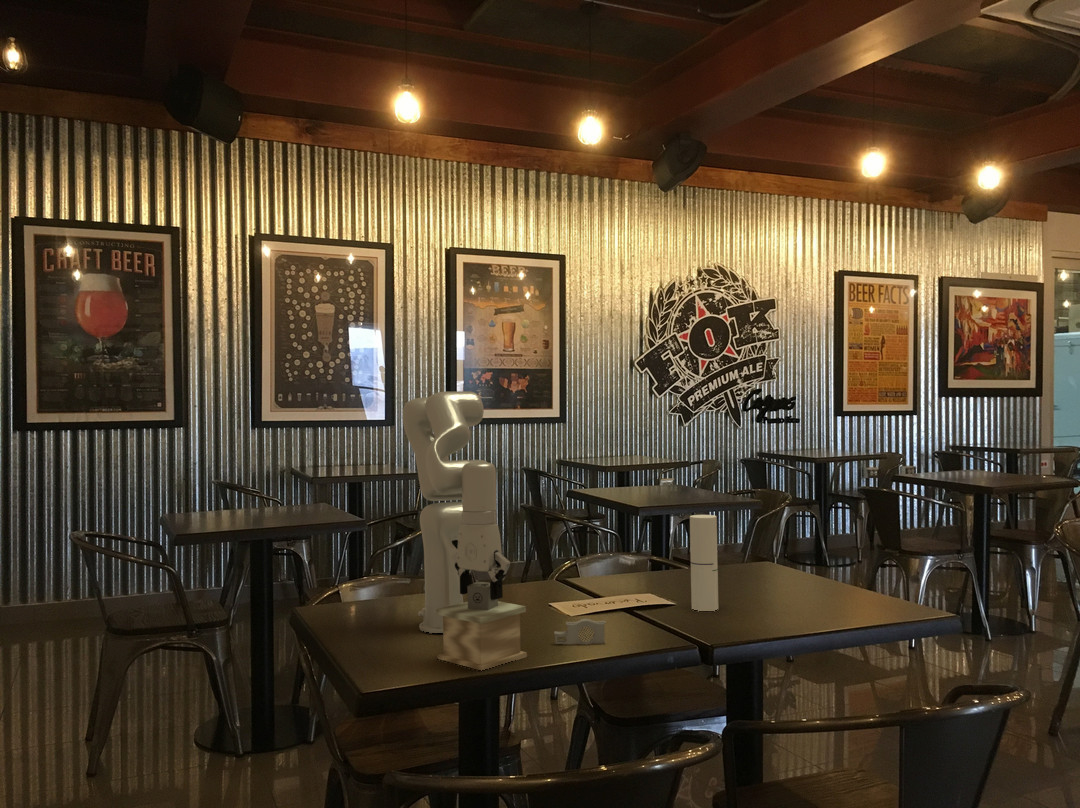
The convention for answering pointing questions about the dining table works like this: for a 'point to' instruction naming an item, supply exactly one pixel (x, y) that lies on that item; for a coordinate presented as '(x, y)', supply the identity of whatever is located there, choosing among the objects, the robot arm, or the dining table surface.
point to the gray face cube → (480, 596)
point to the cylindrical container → (704, 562)
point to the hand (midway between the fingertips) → (481, 595)
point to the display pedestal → (481, 635)
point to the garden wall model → (574, 629)
